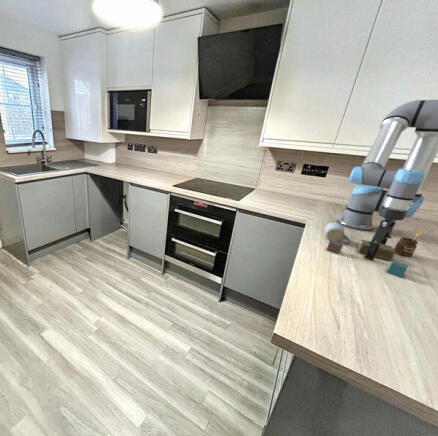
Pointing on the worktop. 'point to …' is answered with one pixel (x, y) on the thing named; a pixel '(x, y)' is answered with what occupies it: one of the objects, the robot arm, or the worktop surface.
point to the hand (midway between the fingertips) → (373, 254)
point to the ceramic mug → (336, 232)
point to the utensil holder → (407, 245)
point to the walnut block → (334, 246)
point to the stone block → (383, 251)
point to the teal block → (397, 268)
